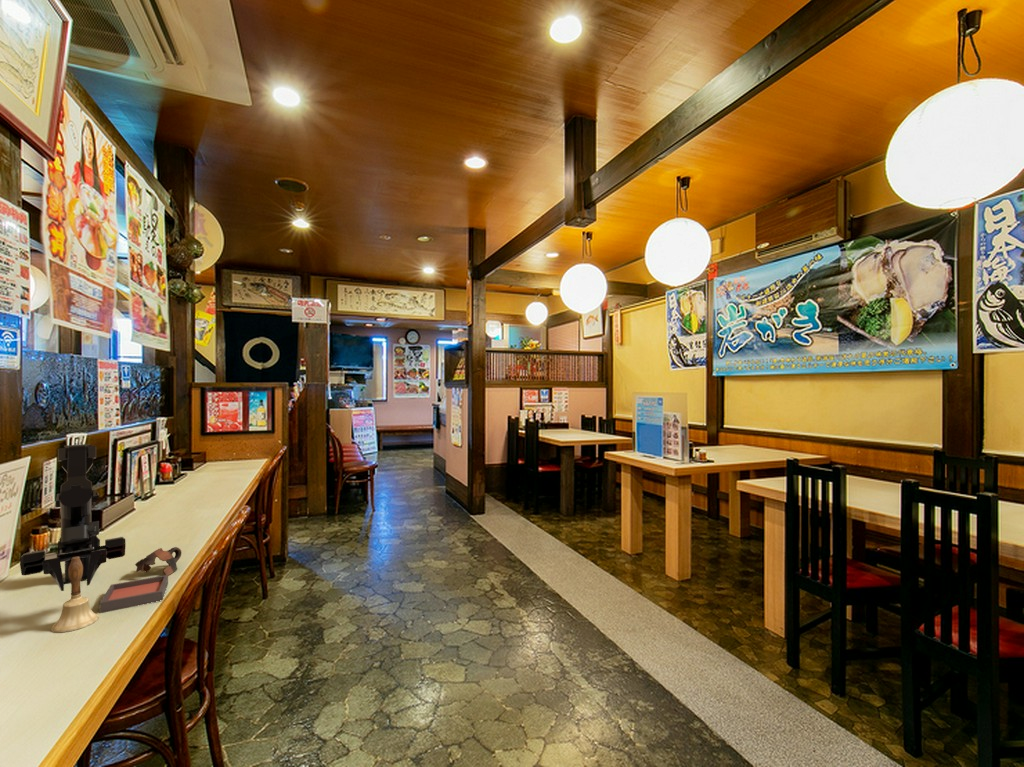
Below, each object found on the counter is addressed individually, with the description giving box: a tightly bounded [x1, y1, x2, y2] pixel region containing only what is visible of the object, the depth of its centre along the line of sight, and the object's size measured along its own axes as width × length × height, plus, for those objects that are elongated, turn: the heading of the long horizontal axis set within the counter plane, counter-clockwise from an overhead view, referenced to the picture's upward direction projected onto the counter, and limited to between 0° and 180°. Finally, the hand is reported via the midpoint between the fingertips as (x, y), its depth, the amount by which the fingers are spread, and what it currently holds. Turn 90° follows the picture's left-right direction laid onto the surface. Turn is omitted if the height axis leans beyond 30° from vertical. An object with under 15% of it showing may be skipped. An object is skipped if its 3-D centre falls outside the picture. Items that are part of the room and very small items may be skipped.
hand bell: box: [50, 556, 100, 633], centre depth 112 cm, size 8×8×16 cm
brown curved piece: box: [134, 546, 182, 576], centre depth 143 cm, size 12×10×8 cm
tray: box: [99, 574, 169, 614], centre depth 125 cm, size 13×13×2 cm
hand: (75, 587), depth 111 cm, fingers open, 4 cm apart
